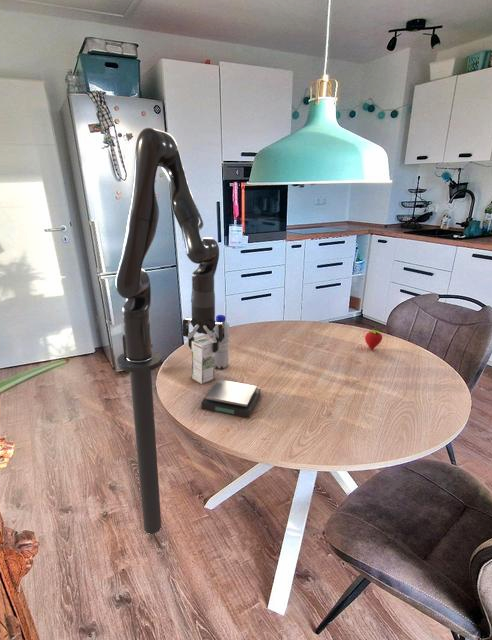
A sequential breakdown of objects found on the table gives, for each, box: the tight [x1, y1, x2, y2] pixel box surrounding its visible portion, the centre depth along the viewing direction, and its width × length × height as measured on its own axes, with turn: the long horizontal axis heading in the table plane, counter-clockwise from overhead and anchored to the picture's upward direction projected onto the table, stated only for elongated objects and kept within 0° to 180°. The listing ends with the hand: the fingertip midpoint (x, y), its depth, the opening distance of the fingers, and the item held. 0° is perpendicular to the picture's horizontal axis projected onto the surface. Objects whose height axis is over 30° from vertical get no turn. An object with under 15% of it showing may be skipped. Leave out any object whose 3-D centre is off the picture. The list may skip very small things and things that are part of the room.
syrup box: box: [191, 336, 216, 385], centre depth 132 cm, size 6×6×14 cm
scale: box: [200, 381, 262, 419], centre depth 121 cm, size 15×14×2 cm
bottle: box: [211, 314, 231, 370], centre depth 141 cm, size 7×7×20 cm
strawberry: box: [364, 326, 383, 350], centre depth 163 cm, size 6×8×10 cm
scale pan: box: [205, 379, 258, 407], centre depth 120 cm, size 13×12×1 cm
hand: (203, 350), depth 130 cm, fingers closed on syrup box, 7 cm apart
